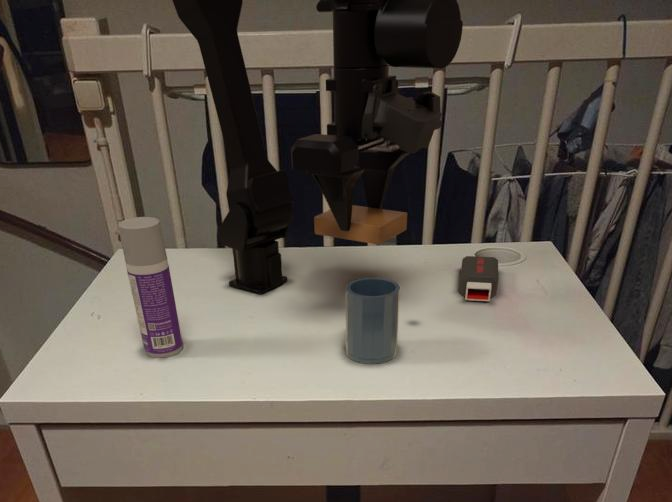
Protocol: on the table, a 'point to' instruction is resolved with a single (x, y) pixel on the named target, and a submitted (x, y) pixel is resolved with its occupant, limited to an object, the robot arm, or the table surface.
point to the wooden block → (364, 225)
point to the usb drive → (479, 278)
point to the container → (151, 285)
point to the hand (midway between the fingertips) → (360, 223)
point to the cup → (372, 319)
